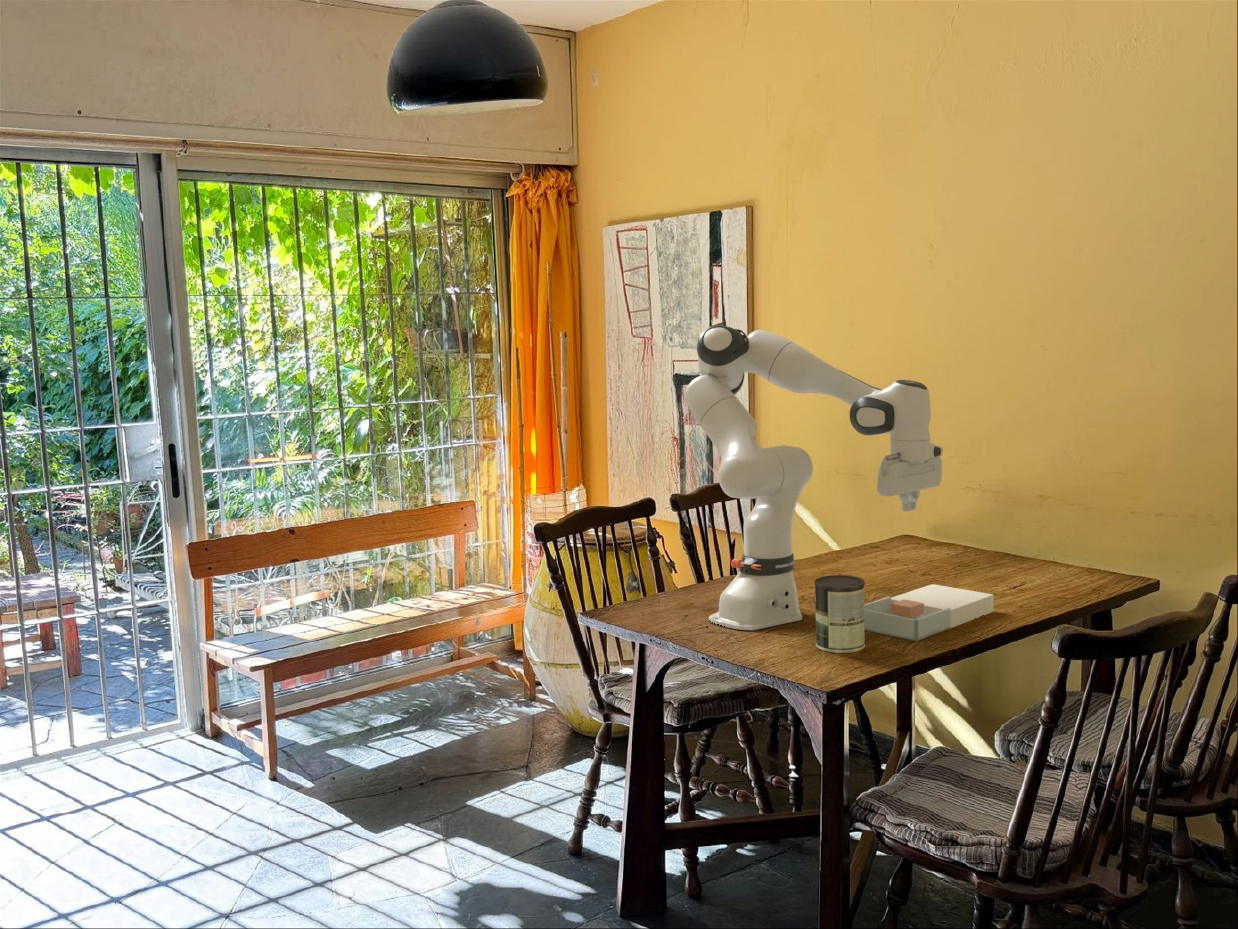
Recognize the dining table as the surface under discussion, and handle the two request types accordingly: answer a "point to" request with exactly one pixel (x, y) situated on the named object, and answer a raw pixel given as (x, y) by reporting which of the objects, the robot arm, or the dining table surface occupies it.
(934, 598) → the white shallow box
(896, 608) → the tile terracotta
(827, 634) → the coffee can
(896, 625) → the box
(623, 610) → the dining table surface
